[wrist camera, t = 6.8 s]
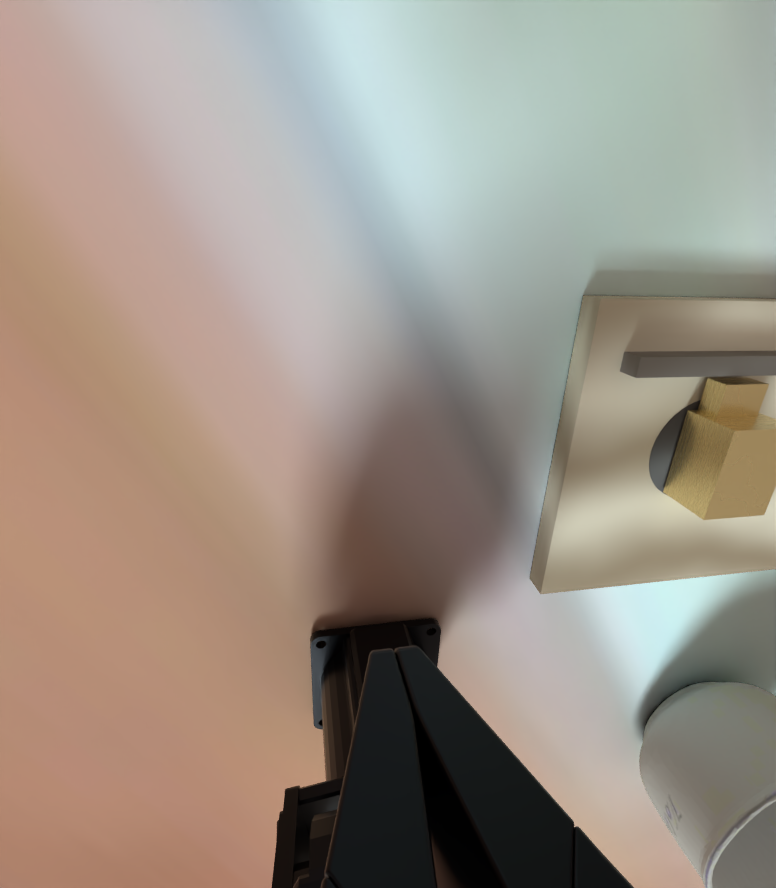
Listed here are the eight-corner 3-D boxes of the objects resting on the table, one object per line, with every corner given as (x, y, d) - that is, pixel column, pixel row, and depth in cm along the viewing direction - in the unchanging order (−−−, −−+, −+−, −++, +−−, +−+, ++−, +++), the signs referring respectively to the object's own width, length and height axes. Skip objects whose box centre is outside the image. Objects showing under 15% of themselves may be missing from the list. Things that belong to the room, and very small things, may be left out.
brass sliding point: (718, 488, 22) (764, 515, 20) (662, 492, 22) (703, 520, 20) (757, 377, 20) (813, 394, 18) (697, 378, 20) (747, 395, 17)
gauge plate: (829, 548, 28) (870, 572, 26) (529, 578, 24) (550, 608, 22) (949, 301, 22) (1014, 307, 20) (583, 295, 19) (617, 302, 17)
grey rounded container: (584, 737, 31) (673, 889, 24) (714, 628, 29) (855, 758, 22) (687, 793, 36) (785, 930, 29) (803, 705, 34) (938, 829, 27)
